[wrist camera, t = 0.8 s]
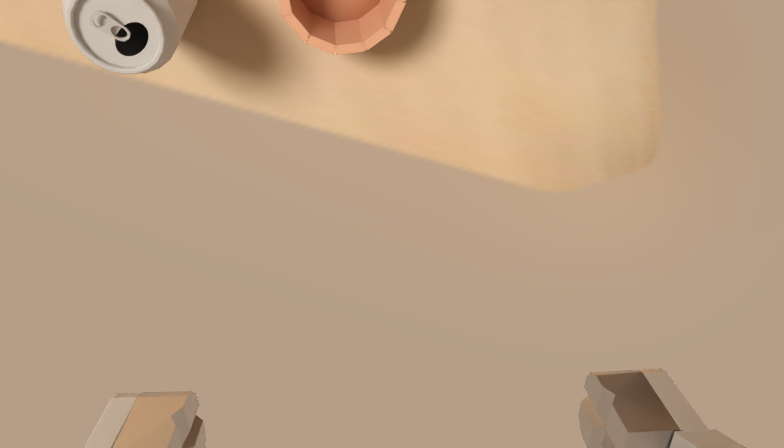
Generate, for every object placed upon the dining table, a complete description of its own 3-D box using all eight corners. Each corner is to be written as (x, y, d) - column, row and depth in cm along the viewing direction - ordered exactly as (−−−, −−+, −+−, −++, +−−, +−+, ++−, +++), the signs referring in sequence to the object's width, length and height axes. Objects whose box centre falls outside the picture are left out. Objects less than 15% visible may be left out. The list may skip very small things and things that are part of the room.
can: (169, 39, 48) (137, 103, 39) (88, -23, 44) (31, 33, 35) (219, -22, 45) (196, 33, 36) (137, -94, 41) (89, -53, 32)
